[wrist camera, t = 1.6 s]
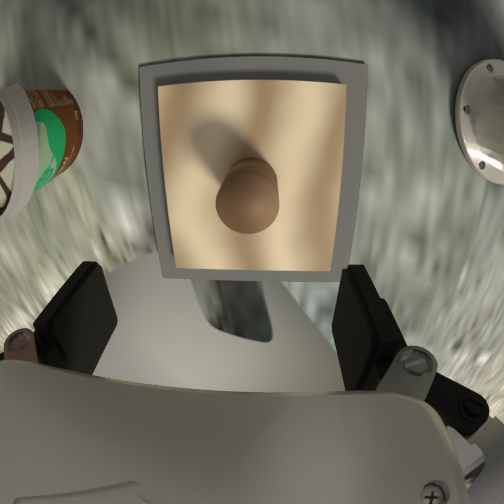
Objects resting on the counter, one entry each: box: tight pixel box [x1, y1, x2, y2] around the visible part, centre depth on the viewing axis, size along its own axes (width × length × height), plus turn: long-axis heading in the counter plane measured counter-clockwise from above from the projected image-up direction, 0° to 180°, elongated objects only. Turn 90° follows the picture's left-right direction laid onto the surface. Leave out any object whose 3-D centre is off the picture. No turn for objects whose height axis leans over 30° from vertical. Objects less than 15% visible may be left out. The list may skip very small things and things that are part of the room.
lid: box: [158, 80, 346, 271], centre depth 22 cm, size 14×16×6 cm
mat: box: [139, 56, 367, 282], centre depth 25 cm, size 18×20×1 cm
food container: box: [0, 83, 83, 222], centre depth 19 cm, size 12×6×10 cm, turn 134°
